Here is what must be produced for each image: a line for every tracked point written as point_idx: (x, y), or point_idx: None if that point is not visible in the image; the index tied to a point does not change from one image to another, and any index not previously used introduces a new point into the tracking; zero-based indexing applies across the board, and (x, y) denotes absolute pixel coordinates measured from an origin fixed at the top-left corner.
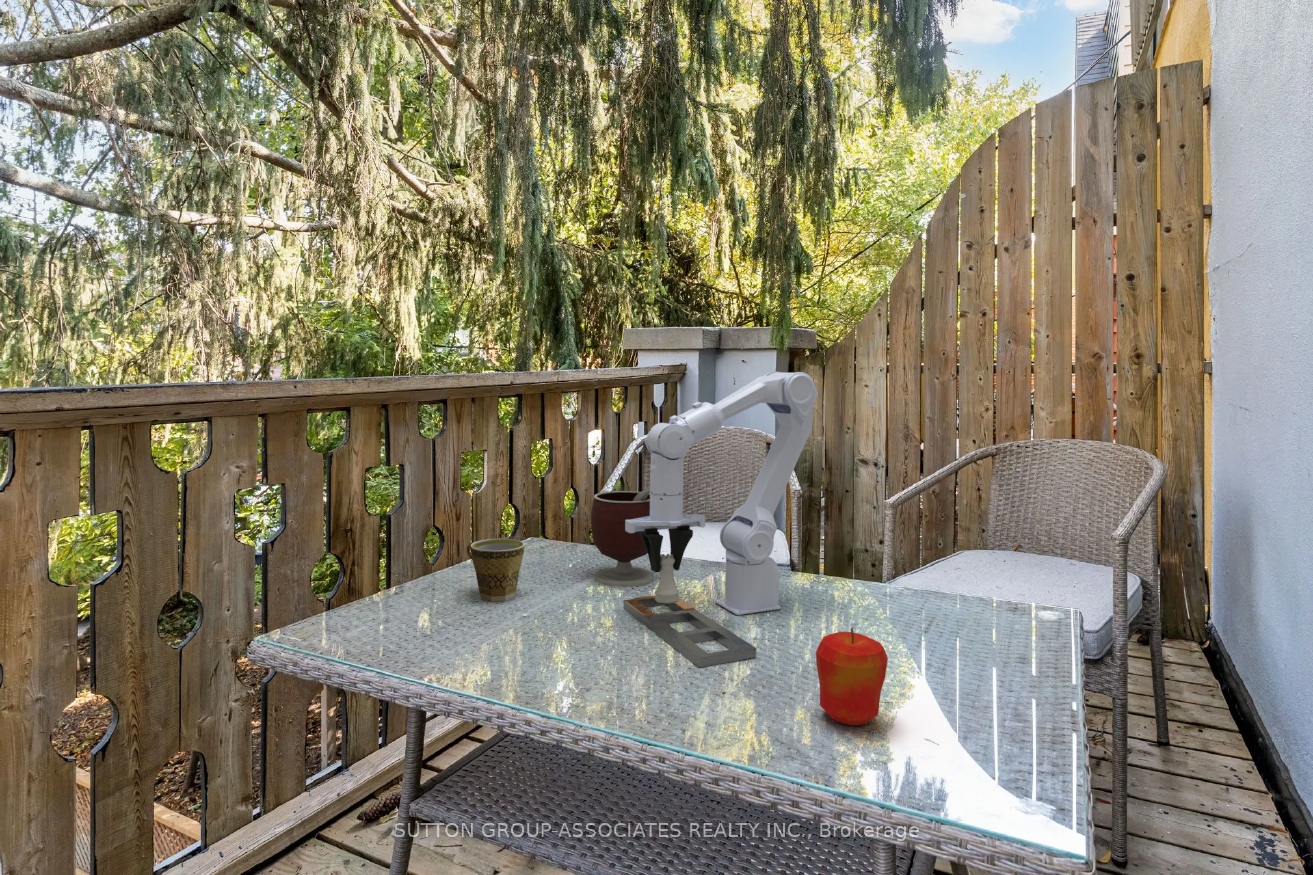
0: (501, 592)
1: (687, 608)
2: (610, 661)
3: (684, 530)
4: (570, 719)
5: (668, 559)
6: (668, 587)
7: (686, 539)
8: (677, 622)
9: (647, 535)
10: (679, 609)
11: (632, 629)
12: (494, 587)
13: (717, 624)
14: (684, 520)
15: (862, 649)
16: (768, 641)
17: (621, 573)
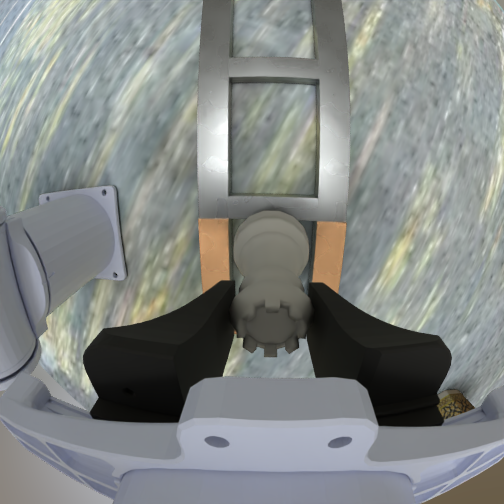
0: (455, 396)
1: (219, 219)
2: (459, 81)
3: (139, 390)
4: (500, 7)
5: (277, 294)
6: (280, 238)
7: (152, 329)
8: (261, 193)
9: (444, 377)
10: (230, 244)
11: (376, 198)
12: (464, 400)
13: (202, 91)
14: (110, 447)
15: None
16: (139, 37)
17: None
